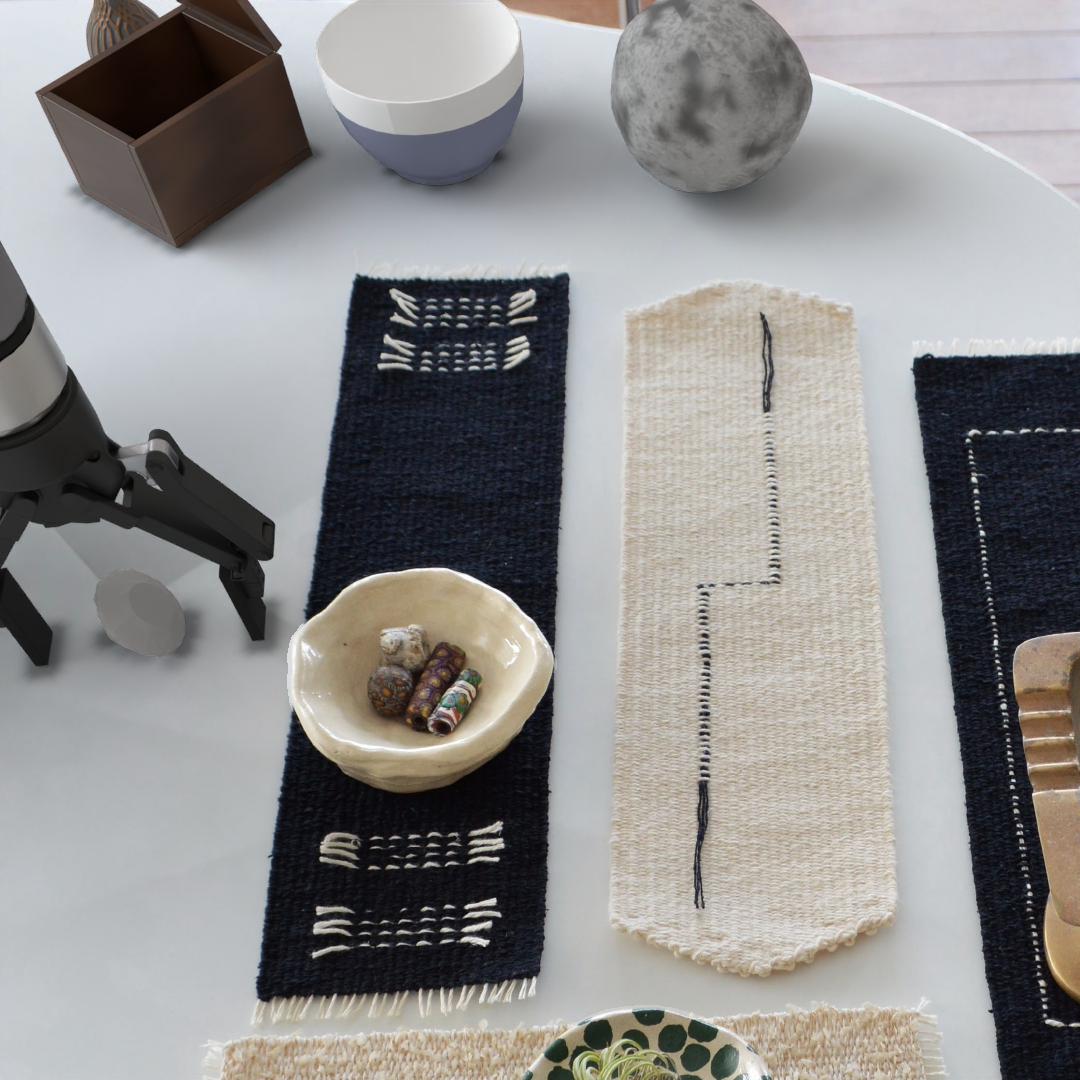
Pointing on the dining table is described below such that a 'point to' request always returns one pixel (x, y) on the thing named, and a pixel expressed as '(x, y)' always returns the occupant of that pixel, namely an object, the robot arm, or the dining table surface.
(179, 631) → the grey rounded piece
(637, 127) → the stone
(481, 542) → the dining table surface
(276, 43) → the lid
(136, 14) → the vase
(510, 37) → the bowl
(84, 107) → the chest
